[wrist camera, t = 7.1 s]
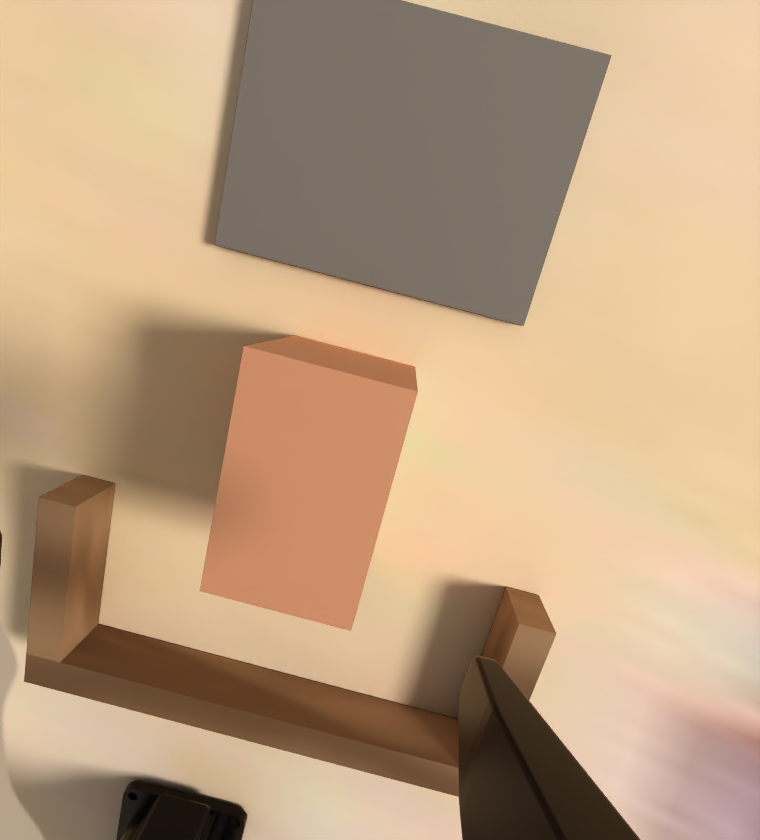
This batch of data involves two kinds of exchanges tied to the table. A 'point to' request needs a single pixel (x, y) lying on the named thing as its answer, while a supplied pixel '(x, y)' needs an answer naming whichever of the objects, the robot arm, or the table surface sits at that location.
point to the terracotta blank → (306, 477)
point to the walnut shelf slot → (236, 663)
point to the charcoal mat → (405, 148)
